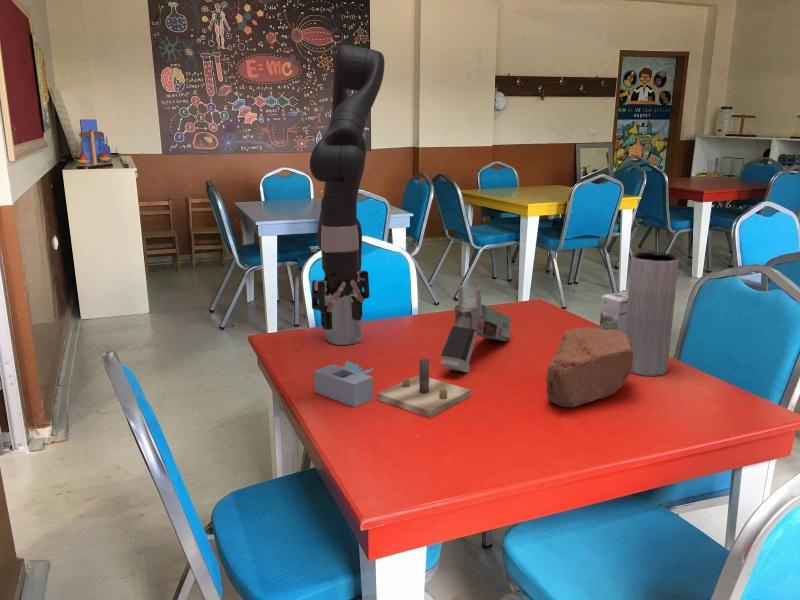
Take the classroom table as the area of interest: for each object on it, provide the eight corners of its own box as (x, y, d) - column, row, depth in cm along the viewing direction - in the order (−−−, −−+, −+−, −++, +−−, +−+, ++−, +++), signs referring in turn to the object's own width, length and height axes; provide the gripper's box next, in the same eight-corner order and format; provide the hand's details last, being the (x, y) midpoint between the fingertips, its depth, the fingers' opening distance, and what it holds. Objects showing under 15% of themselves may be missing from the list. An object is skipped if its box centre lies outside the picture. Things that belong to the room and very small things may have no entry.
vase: (617, 361, 160) (627, 251, 153) (660, 362, 159) (671, 252, 152) (627, 375, 150) (637, 260, 143) (672, 377, 149) (685, 260, 142)
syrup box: (630, 351, 167) (635, 296, 163) (615, 356, 163) (619, 299, 160) (611, 345, 171) (616, 291, 167) (596, 349, 168) (600, 295, 164)
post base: (377, 399, 138) (376, 361, 135) (419, 380, 148) (419, 345, 146) (429, 418, 129) (430, 377, 127) (470, 396, 139) (471, 358, 137)
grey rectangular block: (315, 392, 142) (314, 370, 140) (333, 385, 146) (332, 364, 144) (354, 407, 134) (354, 384, 133) (373, 399, 138) (372, 376, 137)
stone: (511, 397, 135) (535, 335, 128) (559, 359, 155) (582, 304, 149) (583, 438, 128) (612, 375, 121) (623, 393, 148) (650, 337, 141)
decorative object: (377, 371, 155) (346, 362, 161) (377, 368, 155) (346, 359, 161) (341, 386, 146) (310, 376, 152) (341, 384, 146) (310, 374, 152)
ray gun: (433, 366, 149) (448, 280, 151) (479, 374, 178) (491, 302, 179) (462, 371, 146) (477, 284, 148) (504, 378, 174) (516, 305, 176)
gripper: (351, 240, 139) (353, 314, 143) (300, 250, 129) (304, 328, 133) (377, 244, 135) (378, 320, 139) (327, 254, 124) (330, 335, 128)
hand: (342, 324), depth 136 cm, fingers open, 8 cm apart
